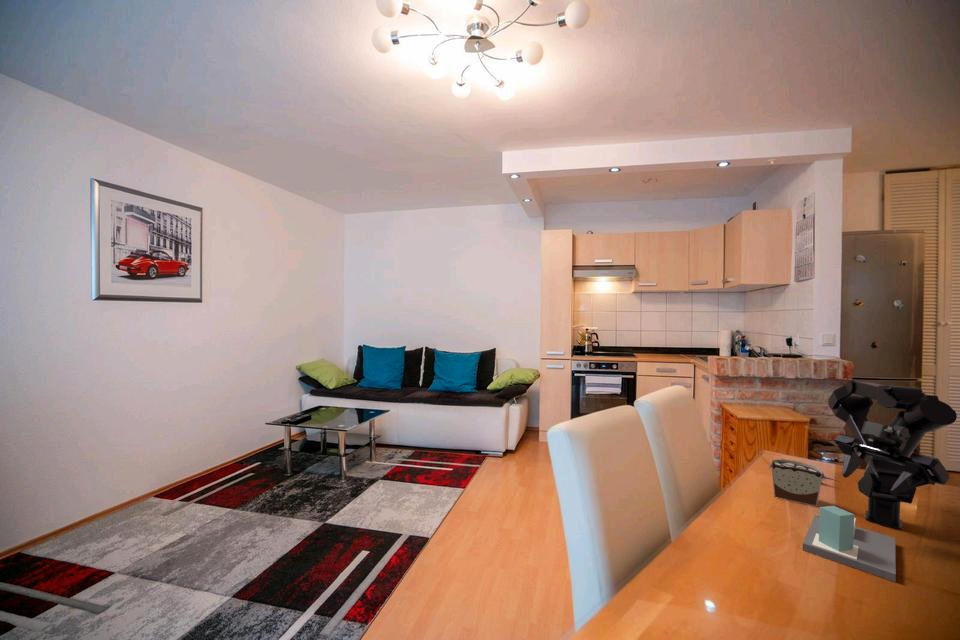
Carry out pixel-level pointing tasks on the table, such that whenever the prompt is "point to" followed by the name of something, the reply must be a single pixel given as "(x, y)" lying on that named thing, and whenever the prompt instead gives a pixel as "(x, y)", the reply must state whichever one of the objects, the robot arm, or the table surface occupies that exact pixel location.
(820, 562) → the table surface
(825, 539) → the pillar
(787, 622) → the table surface
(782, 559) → the table surface
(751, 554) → the table surface
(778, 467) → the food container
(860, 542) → the building board
